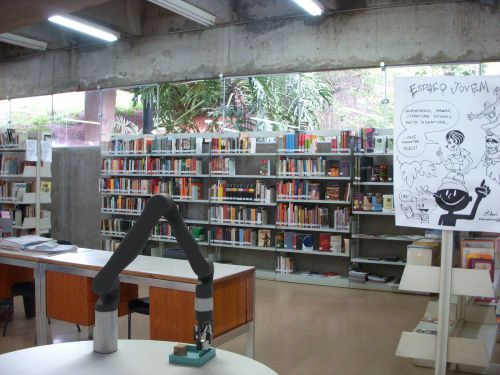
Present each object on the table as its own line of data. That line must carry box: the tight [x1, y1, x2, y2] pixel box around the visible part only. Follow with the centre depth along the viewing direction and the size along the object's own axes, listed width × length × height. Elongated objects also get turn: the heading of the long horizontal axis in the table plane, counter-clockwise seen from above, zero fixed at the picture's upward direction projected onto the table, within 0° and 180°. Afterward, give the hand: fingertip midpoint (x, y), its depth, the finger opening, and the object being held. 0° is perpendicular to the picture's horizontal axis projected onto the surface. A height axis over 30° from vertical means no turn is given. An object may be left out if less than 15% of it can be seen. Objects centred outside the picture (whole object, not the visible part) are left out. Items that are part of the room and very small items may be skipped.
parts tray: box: [168, 343, 217, 367], centre depth 205 cm, size 14×14×3 cm
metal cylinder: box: [199, 338, 210, 357], centre depth 206 cm, size 4×4×6 cm
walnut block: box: [173, 342, 187, 357], centre depth 203 cm, size 4×4×5 cm
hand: (203, 347), depth 206 cm, fingers open, 8 cm apart
